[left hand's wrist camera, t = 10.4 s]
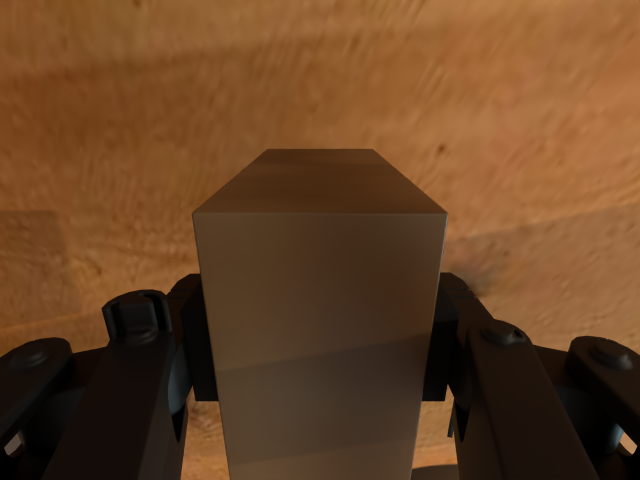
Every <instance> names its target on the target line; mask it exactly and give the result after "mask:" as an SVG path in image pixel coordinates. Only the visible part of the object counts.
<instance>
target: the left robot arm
mask: <svg viewBox="0 0 640 480" xmlns="http://www.w3.org/2000/svg"><path fill="white" fill-rule="evenodd" d="M101 309H102V312H103V316H104V320H105V323H106V327H107V330H108V334H109V338H110V341H109V343H108V345H107V346H106V347H102V348H98V349H93V350H88V351H82V352H77V353H72V349H71V346H70V343H69V342H68V341H66V340H65V339H63V338H56V337H53V338H44V339H37V340H35V341H30V342H27V343H25V344H23V345H21V346H19V347H17V348H15V349H13V350H11V351H9V352H8V353H6V354H5V355H3V356H2V357H0V480H180V479H181V471H182V462H183V454H184V446H185V438H186V430H187V422H188V408H187V402H186V399H187V396H188V394H189V392H190V390H191V388H192V385H193V389H194V395H195V400H196V401H219V400H218V393H217V386H216V379H215V372H214V365H213V358H212V351H211V344H210V337H209V330H208V323H207V316H206V309H205V302H204V295H203V288H202V281H201V274H189V275H187V276H186V277H184V278H182V279H181V280H179V281H178V282H177V283H176V284H175V285H174V287H173V288H172V289H171V292H169V293H168V294H167V295H165V294H164V293H163V292H161V291H157V290H153V289H150V290H137V291H132V292H128V293H125V294H123V295H120V296H117V297H115V298H114V299H112V300H110V301H108V302H107V303H106V304H105V305H104V306H103V307H102V308H101ZM447 385H449V387H450V390H451V392H452V394H453V396H454V402H453V408H452V413H451V418H450V423H449V429H448V436H447V437H451V438H452V435H453V430H454V437H455V445H456V453H457V462H458V470H459V478H460V480H640V355H639V354H637V353H636V352H634V351H633V350H631V349H629V348H628V347H625V346H623V345H621V344H619V343H617V342H615V341H613V340H610V339H608V340H607V339H606V338H602V337H593V336H581V337H576V338H575V339H574V340H572V341H571V344H570V347H569V350H568V352H566V351H561V350H556V349H550V348H545V347H540V346H536V345H533V344H532V342H531V340H530V339H529V337H528V336H527V335H526V334H525V332H523V331H522V330H520V329H519V328H517V327H516V326H514V325H512V324H509V323H507V322H505V321H501V320H496V319H494V318H493V317H492V316H491V314H490V313H489V312H488V311H487V309H486V308H485V307H484V306H483V305H482V303H481V302H480V301H479V300H478V298H476V296H475V295H474V293H473V292H472V291H470V289H469V287H468V286H467V285H466V284H465V282H464V281H463V280H462V279H460V278H458V277H457V276H455V275H453V274H452V273H440V277H439V284H438V291H437V298H436V305H435V312H434V319H433V326H432V333H431V339H430V346H429V353H428V360H427V367H426V374H425V381H424V388H423V395H422V401H445V396H446V390H447ZM624 432H625V433H626V434H627V435H628V436H629V437H630V439H631V440H632V441H633V442H634V443H635V444H636V445H637V448H636V450H635V452H634V453H633V454H631V453H630V452H629V451H627V450H626V449H625V448H624V447H623V445H622V444H621V443H620V442H619V441H620V439H621V437H622V435H623V433H624ZM16 434H18V436H19V438H20V441H21V444H20V446H19V447H18V448H17V449H16V450H15V451H14V452H13V453H11V454H10V455H7V454H6V452H5V449H4V447H5V446H6V445H7V444H8V443H9V442H10V440H11V439H12V438H13V437H14V436H15V435H16Z"/></svg>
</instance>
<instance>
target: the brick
mask: <svg viewBox="0 0 640 480" xmlns="http://www.w3.org/2000/svg"><path fill="white" fill-rule="evenodd" d="M192 219H193V226H194V233H195V240H196V247H197V254H198V261H199V267H200V274H201V281H202V288H203V295H204V302H205V309H206V316H207V323H208V330H209V337H210V344H211V351H212V358H213V365H214V372H215V379H216V386H217V393H218V400H219V407H220V414H221V420H222V427H223V434H224V441H225V448H226V455H227V462H228V469H229V476H230V480H410V478H411V471H412V464H413V457H414V450H415V443H416V437H417V430H418V423H419V416H420V409H421V402H422V395H423V388H424V381H425V374H426V367H427V360H428V353H429V346H430V339H431V333H432V326H433V319H434V312H435V305H436V298H437V291H438V284H439V277H440V270H441V263H442V256H443V249H444V242H445V236H446V229H447V222H448V212H446V211H445V210H444V209H443V208H442V207H441V206H439V205H438V204H437V203H436V202H435V201H433V200H432V199H431V198H430V197H429V196H428V195H426V194H425V193H424V192H423V191H422V190H420V189H419V188H418V187H417V186H416V185H415V184H413V183H412V182H411V181H410V180H409V179H408V178H406V177H405V176H404V175H403V174H402V173H400V172H399V171H398V170H397V169H396V168H395V167H393V166H392V165H391V164H390V163H389V162H387V161H386V160H385V159H384V158H383V157H382V156H380V155H379V154H378V153H377V152H376V151H374V150H373V149H267V150H266V151H265V152H263V153H262V154H261V155H260V156H259V157H258V158H256V159H255V160H254V161H253V162H252V163H250V164H249V165H248V166H247V167H246V168H245V169H243V170H242V171H241V172H240V173H239V174H237V175H236V176H235V177H234V178H233V179H232V180H230V181H229V182H228V183H227V184H226V185H225V186H223V187H222V188H221V189H220V190H219V191H217V192H216V193H215V194H214V195H213V196H212V197H210V198H209V199H208V200H207V201H206V202H205V203H203V204H202V205H201V206H200V207H199V208H197V209H196V210H195V211H194V212H193V213H192Z"/></svg>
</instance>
